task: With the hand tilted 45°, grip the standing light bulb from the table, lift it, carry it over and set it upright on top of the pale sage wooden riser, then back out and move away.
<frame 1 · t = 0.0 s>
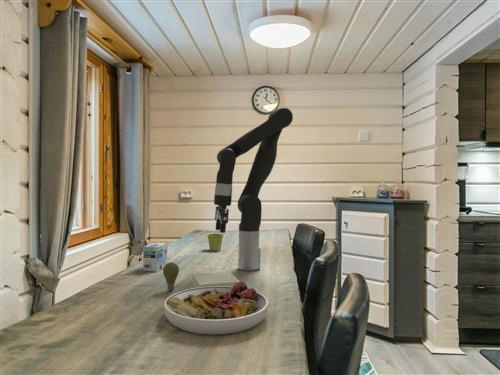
hand: (220, 231, 162), 17 cm above the table, tool pointing down, fingers open, 8 cm apart
riser: (215, 291, 131), on the table
light bulb box: (155, 269, 163), on the table
bowl: (216, 318, 108), on the table
light bulb: (170, 290, 132), on the table
plant pot: (215, 250, 208), on the table
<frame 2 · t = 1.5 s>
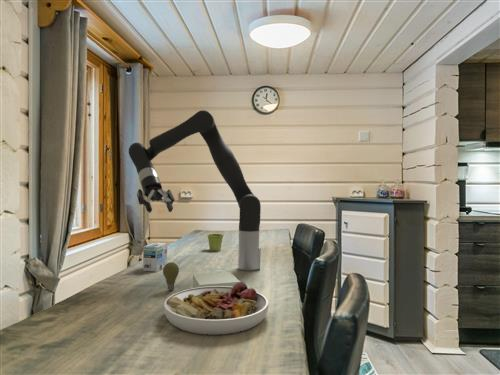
hand: (160, 211, 145), 27 cm above the table, tool tilted 45°, fingers open, 8 cm apart
nothing on the table moved.
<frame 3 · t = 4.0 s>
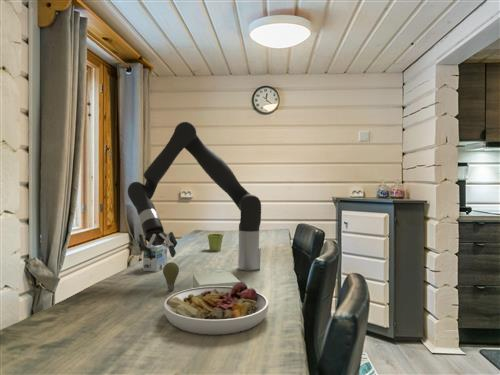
hand: (163, 257, 137), 11 cm above the table, tool tilted 45°, fingers open, 8 cm apart
nothing on the table moved.
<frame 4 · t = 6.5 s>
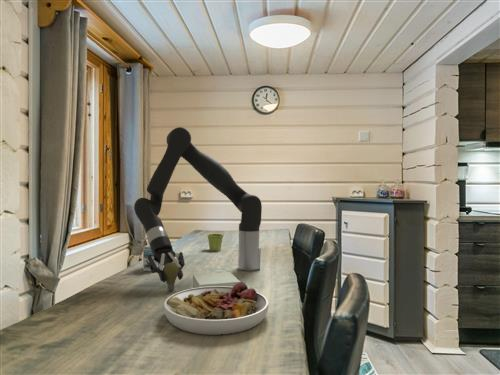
hand: (173, 279, 131), 4 cm above the table, tool tilted 45°, fingers closed on light bulb, 5 cm apart
light bulb: (170, 290, 132), on the table, touching gripper
everything else where it was.
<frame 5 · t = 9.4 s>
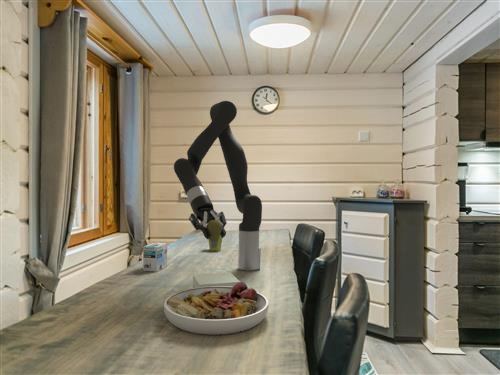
hand: (216, 236, 130), 20 cm above the table, tool tilted 45°, fingers closed on light bulb, 5 cm apart
light bulb: (214, 248, 131), point 15 cm above the table, touching gripper
everything else where it was.
when the fingers open (11 cm above the table, at t = 12.3 s): light bulb drops 1 cm, resting on riser.
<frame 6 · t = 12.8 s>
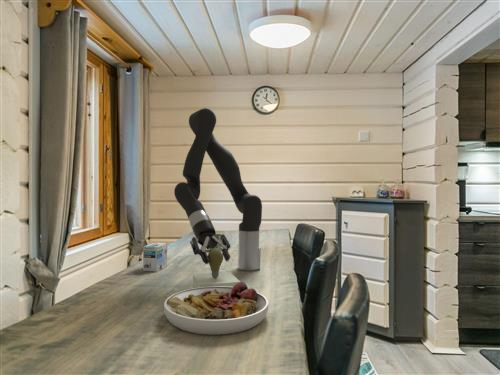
hand: (218, 261, 130), 11 cm above the table, tool tilted 45°, fingers open, 8 cm apart
light bulb: (215, 278, 131), point 5 cm above the table, touching riser
everything else where it was.
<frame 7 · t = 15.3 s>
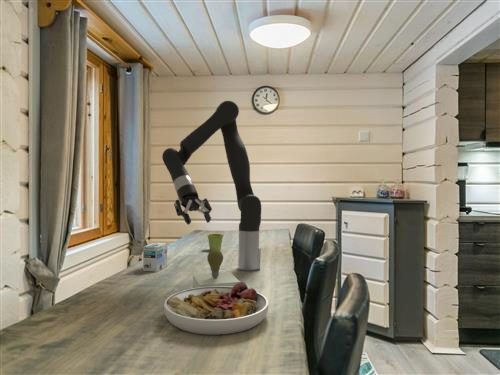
hand: (199, 222, 141), 23 cm above the table, tool tilted 40°, fingers open, 8 cm apart
nothing on the table moved.
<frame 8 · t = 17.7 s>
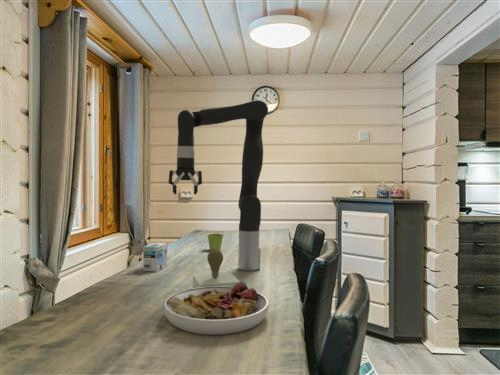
hand: (185, 194, 162), 33 cm above the table, tool pointing down, fingers open, 8 cm apart
nothing on the table moved.
at the end: light bulb inside the target area on the riser (0.3 cm from its centre), point 4.8 cm above the riser's base; light bulb tilted 0°; the gripper is holding nothing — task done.
